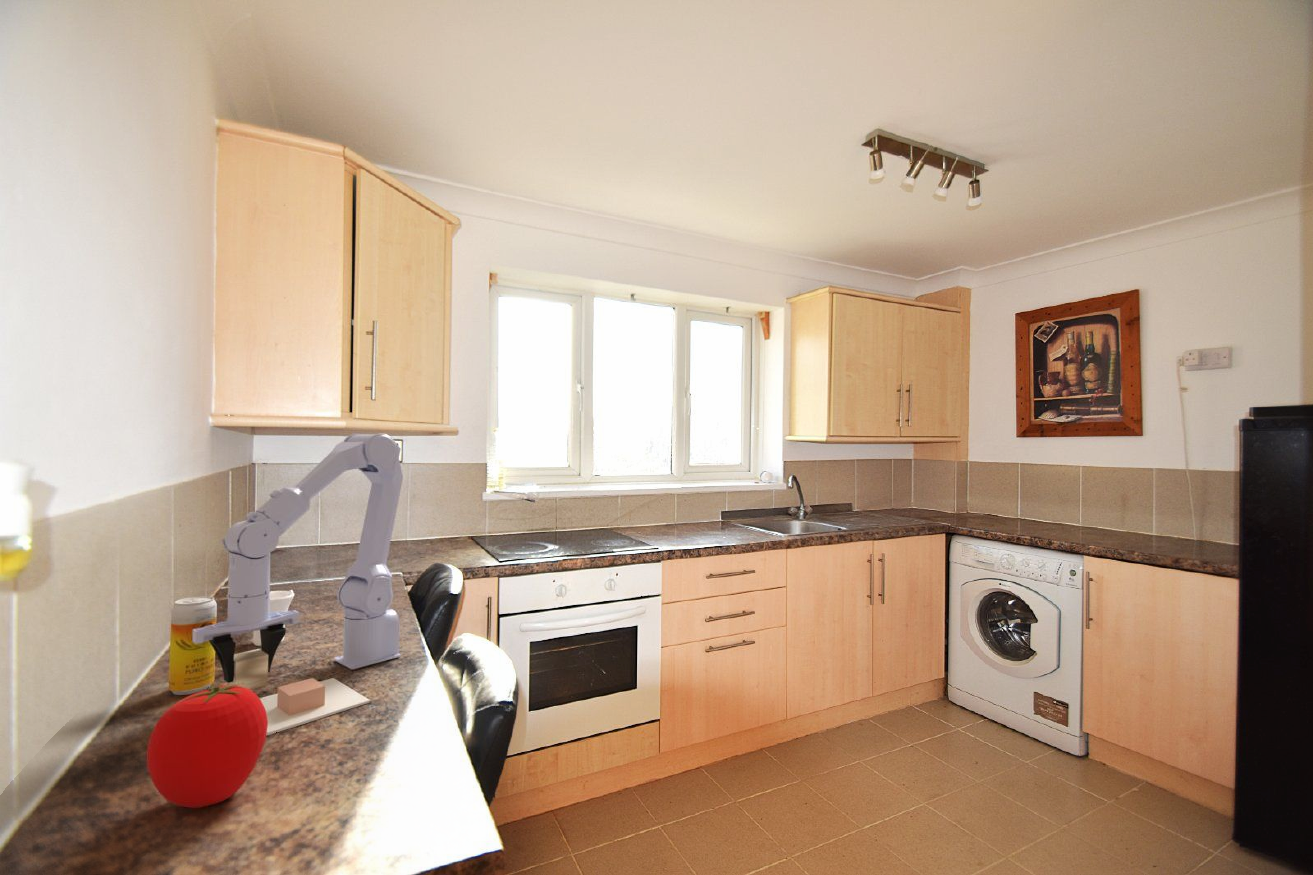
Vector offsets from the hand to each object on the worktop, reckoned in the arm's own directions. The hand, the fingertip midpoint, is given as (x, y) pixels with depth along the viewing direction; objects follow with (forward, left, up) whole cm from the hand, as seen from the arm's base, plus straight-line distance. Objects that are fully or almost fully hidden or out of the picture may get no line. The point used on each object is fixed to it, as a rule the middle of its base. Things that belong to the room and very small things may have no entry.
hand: (247, 676), depth 96 cm
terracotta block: (-4, +12, -3) cm, 13 cm away
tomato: (+12, +30, -3) cm, 33 cm away
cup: (-12, -28, -3) cm, 31 cm away
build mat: (-4, +11, -3) cm, 12 cm away
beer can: (+5, -10, -3) cm, 12 cm away
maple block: (0, 0, -2) cm, 2 cm away
